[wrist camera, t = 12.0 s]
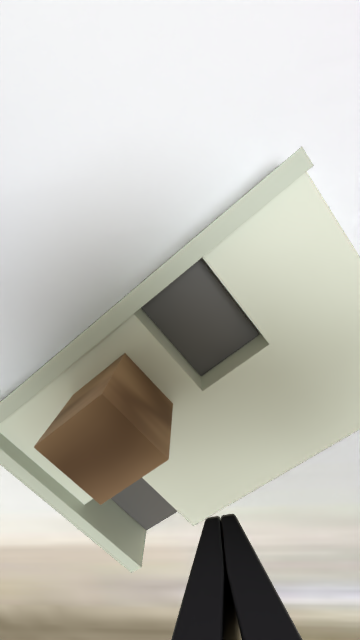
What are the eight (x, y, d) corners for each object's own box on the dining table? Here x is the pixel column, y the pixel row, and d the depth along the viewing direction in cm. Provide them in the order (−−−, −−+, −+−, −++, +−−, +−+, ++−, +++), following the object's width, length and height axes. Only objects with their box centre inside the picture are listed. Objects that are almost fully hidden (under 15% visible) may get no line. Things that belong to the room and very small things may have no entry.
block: (173, 403, 17) (168, 459, 12) (121, 440, 17) (100, 504, 13) (124, 352, 16) (101, 393, 11) (73, 394, 16) (33, 447, 12)
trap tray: (410, 368, 18) (451, 390, 15) (138, 533, 22) (131, 572, 20) (280, 165, 15) (301, 146, 12) (-6, 407, 19) (-38, 433, 17)
